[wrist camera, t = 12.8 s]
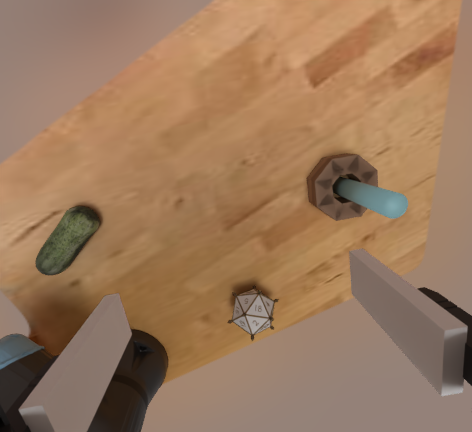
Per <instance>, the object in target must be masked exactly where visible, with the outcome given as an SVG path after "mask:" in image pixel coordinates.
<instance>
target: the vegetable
mask: <svg viewBox="0 0 472 432" xmlns="http://www.w3.org/2000/svg"><path fill="white" fill-rule="evenodd" d="M99 224H100V220H99V217H98V216H97V214H96V213H95V212H94V211H93V210H91V209H90V208H87V207H83V206H77V207H73V208H70V209H69V210H67V211H66V213H65V214H64V216H63V218H62V219H61V221H60V223H59V224H58V226H57V227H56V228H55V230H54V231H53V233H52V234H51V235H50V237H49V238H48V240H47V241H46V242H45V244H44V245H43V247H42V248H41V250H40V252H39V253H38V255H37V258H36V267H37V269H38V270H39V271H40V272H41V273H42V274H45V275H56V274H59V273H61V272H63V271H64V270H66V269H67V268H68V267H69V266H70V264H71V263H72V262H73V260H74V259H75V257H76V256H77V255H78V253H79V252H80V250H81V249H82V248H83V246H84V245H85V244H86V242H87V241H88V240H89V238H90V237H91V236H92V235H93V233H94V232H95V231H96V230H97V229H98V228H99Z"/></svg>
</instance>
